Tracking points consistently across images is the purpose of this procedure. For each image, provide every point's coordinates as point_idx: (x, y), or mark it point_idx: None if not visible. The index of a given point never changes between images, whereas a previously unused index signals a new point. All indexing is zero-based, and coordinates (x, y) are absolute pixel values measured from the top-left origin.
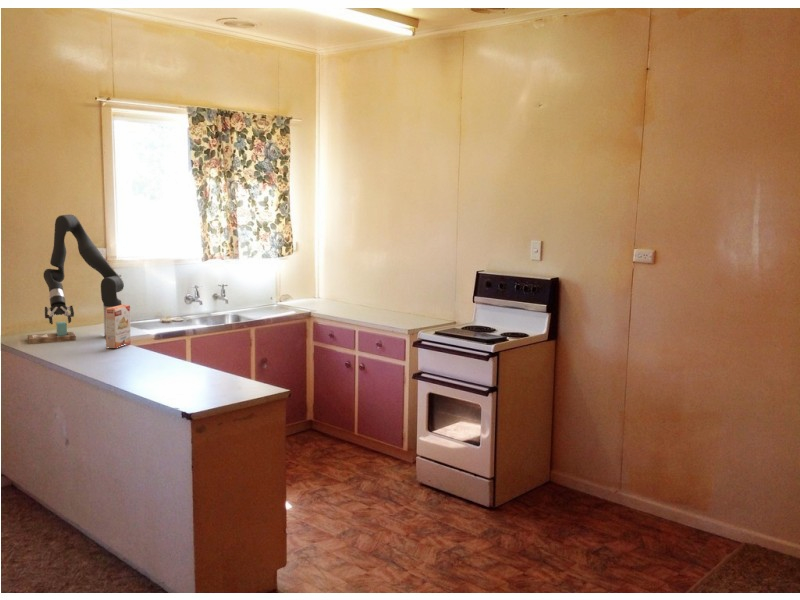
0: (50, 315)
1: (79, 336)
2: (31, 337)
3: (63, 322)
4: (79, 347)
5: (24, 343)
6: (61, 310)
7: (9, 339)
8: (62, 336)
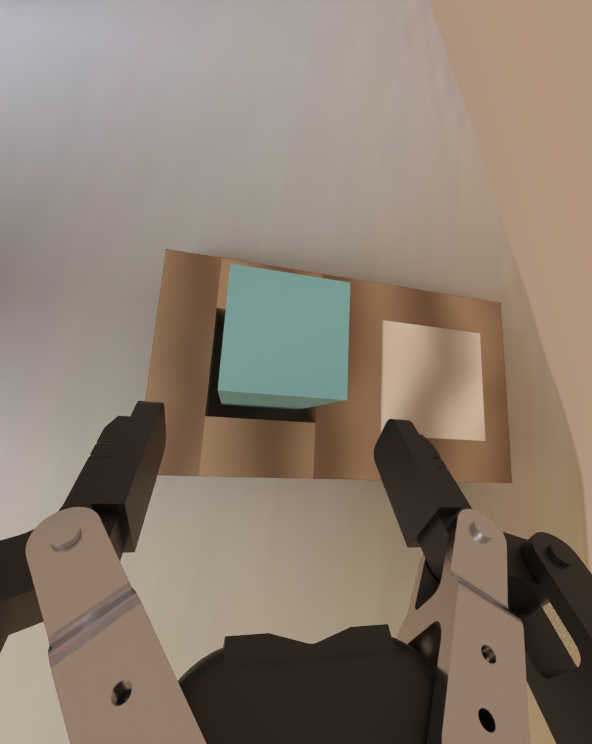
0: (479, 526)
1: None
2: (488, 365)
3: (261, 323)
4: (207, 70)
5: None
6: None
7: None
8: None
